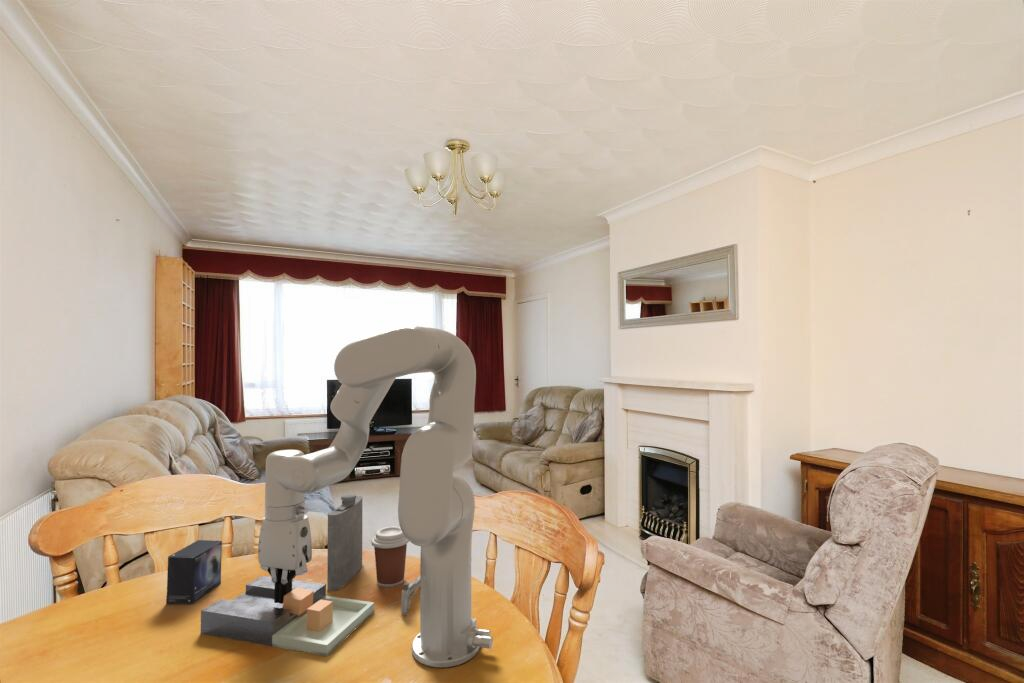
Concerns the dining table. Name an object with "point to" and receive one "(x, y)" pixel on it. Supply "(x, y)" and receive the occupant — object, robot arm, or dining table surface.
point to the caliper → (408, 594)
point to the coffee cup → (390, 556)
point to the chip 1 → (298, 600)
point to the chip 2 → (319, 615)
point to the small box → (193, 571)
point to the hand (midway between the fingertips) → (283, 600)
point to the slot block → (253, 612)
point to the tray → (324, 642)
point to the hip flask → (344, 541)
